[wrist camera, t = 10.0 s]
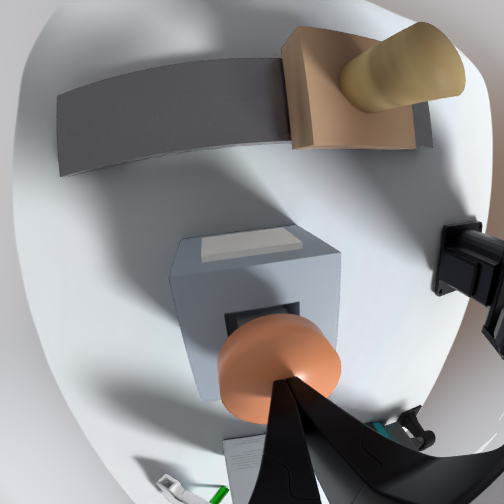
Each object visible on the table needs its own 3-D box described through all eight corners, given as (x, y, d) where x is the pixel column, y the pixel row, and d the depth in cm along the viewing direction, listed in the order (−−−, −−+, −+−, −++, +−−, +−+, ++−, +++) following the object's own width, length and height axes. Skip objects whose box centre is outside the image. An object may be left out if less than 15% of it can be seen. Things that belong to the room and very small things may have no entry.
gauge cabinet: (296, 219, 17) (341, 245, 11) (299, 322, 19) (332, 376, 13) (180, 234, 16) (167, 269, 10) (200, 338, 18) (201, 402, 12)
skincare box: (226, 457, 23) (243, 552, 11) (220, 436, 22) (238, 546, 10) (283, 448, 24) (314, 539, 12) (284, 427, 22) (321, 530, 11)
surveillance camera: (448, 480, 17) (386, 516, 15) (408, 425, 28) (350, 447, 27) (471, 457, 15) (408, 498, 14) (423, 399, 27) (362, 423, 25)
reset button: (308, 281, 12) (346, 323, 8) (307, 358, 13) (335, 408, 10) (206, 296, 11) (209, 349, 8) (221, 374, 13) (229, 431, 9)
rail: (412, 86, 15) (424, 82, 14) (419, 147, 17) (432, 147, 15) (67, 100, 12) (57, 96, 11) (71, 175, 13) (60, 176, 12)
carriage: (372, 61, 13) (466, 19, 5) (384, 150, 14) (495, 151, 7) (280, 49, 12) (347, -35, 4) (292, 149, 14) (387, 132, 6)
